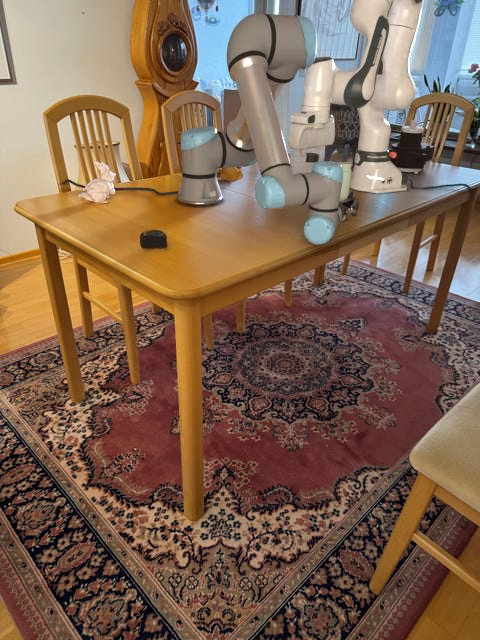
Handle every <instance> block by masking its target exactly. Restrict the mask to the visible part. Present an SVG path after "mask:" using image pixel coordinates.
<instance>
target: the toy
mask: <svg viewBox="0 0 480 640" xmlns="http://www.w3.org/2000/svg"><path fill="white" fill-rule="evenodd" d="M243 171H244V170H243V167H228V168H220V169H219V170H218V171H217V179H219V178H220V179H221V180H223V181H227V182H229V183H230V182H236V181H239V180H242V178H243V177H244V173H243Z"/></svg>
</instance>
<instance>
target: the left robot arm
mask: <svg viewBox="0 0 480 640" xmlns="http://www.w3.org/2000/svg"><path fill="white" fill-rule="evenodd" d="M317 35H318V34H317V31H316V27H315V24H314V22H313V21H312V20H311V19H310V18H309V17H307V16H302V15H298V14H293V15H289V14H275V13H263V12H254V13H250V14H249V15H246V16H244V17H243V18H242V19H241V20H240V21H239V22H238V23H237V24H236V25H235V27H234V28H233V30H232V32H231V34H230V36H229V39H228V43H227V47H226V66H227V70H228V71H227V72H228V75H229V77H230V80H231V81H232V82H234V83H235V84H236V89H237V91H238V94H239V98H240V102H241V106H240V108H239V110H238V113H237V115H236V117H235V119H233V120H231V121H230V122H229V123H228V124H227V126H226V129H225V130H217V128H216V126H208V125H207V126H198V127H197V126H196V127H192V128H189V129H186V130H184V131H183V132H182V133H181V135H180V144H179V145H180V158H181V181H180V184H179V188H178V190H175V191H166V192H160V191H158V190H157V189H154V188H152V187H142V186H141V187H140V186H139V187H136V186H135V187H113V188H114V190H115V192H116V191H117V192H118V191H119V192H120V191H148V192H153V193H155V194H156V195H157V196H162V197H163V196H170V195H177V202H178V203H179V204H181V205H184V206H187V207H199V208H200V207H202V208H203V207H212V206H217V205H219V204H221V203H222V202H223V195H222V190H221V187H220V184H219V182H218V181H219V180H218V177H217V172H218V170H217V169H221V168H228V167H242V168H246V167H249V166H253V165H256V164H257V166H258V168H259V173H260V177H259V178H258V179H257V180H256V182H255V186H254V192H255V195H254V196H255V200H256V203H257V205H259V207H260V208H262V209H265V210H275V209H276V210H280V209H283V208H291V207H298V206H307V205H308V210H307V211H308V212H307V219H306V221H305V222H304V226H303V231H302V232H303V235H304V237H305V239H306V240H307V241H308V242H309V243H311V244H312V245H317V246H321V245H324V244H326V243H328V242H329V241H330V240H331V239H333V237H334V235H335V233H336V231H337V229H338V228H339V226H340V225H341V223H342V219H343V218H344V216H345V215H346V216H347V215H348V214H349V215H351V216H352V217H357V213H358V209H359V204H360V198H356V196H354V191H350V192H349V196H348V199H347V200H345V201H339V200H340V193H341V187H342V183H343V167H342V165H341V164H339V162H335V161H331V160H330V161H324V160H321V161H320V160H319V161H318V162H316V163H313V164H312V168H311V171H310V172H298V173H294V170H293V166H292V163H291V160H290V157H289V153H288V149H287V146H286V141H285V138H284V134H283V131H282V128H281V127H282V126H281V123H280V120H279V116H278V113H277V109H276V101H277V100H278V98H279V96H280V94H281V92H282V91H283V89H284V86H285V85H288V84H289V83H290V84H291V83H292V81H293V80H294V79H295V78H296V76H297V73H298V72H299V70H302V71H303V70H304V71H306V69H307V68H309V67H310V66H311V65H312V64H313V62H314V60H315V58H316V56H317V51H318V50H317V49H318V36H317ZM64 180H65V182H64ZM64 180H63V182H61V183H62V185H66V183H70V184H71V185H73V186H75V187H78V188H81V189H84V188H85V187H86V185H84V184H80V183H77V182H75V181H73V180H72V179H69V178H68V179H64Z"/></svg>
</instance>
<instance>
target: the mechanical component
mask: <svg viewBox="0 0 480 640" xmlns="http://www.w3.org/2000/svg"><path fill="white" fill-rule="evenodd" d="M424 131H425V128H424V127H422V126H418V120H416V119H410V123H409V125H403V126H401V129H400V134H399V140H398V143H392V144H391V148H388V151H390V152H395V154H397V156H396V157H395V158H392V157H390V161H391V162H392V163H393V164H394V165H395V166H396V167H397V168H398V169H399V170H400V171H401V172H406V173H413V174H415V175H418V174H419V172H421V171H423V169H425V168H426V167H427V162H429V161H432V160H433V157H434V155H435V148H436V146H435V145H431V144H430V143H428V142H422V139H423V134H424Z"/></svg>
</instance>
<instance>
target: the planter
mask: <svg viewBox="0 0 480 640" xmlns="http://www.w3.org/2000/svg"><path fill="white" fill-rule="evenodd" d="M329 115H332V116H333V118H334V124H335V137H334V142H333V144H332V145H325V146H324V156H323V157H324V158H323V161H330V162H331V158H332V156H333V154H334V153H335V152H336V150H337V149H338V148H340V147H342V152H341V162H348V159H349V153H348V152H349V150H350V151H351V153H350V154H351V157H352V158H351V159H352V160H351V161H352V162H351V163H352V167H354V166H355V155H356V149H357V148H358V142H359V134H360V120H359V115H358V111H357V108H355V107H351V106H347V105H339V104H333V103H330V112H329Z"/></svg>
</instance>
